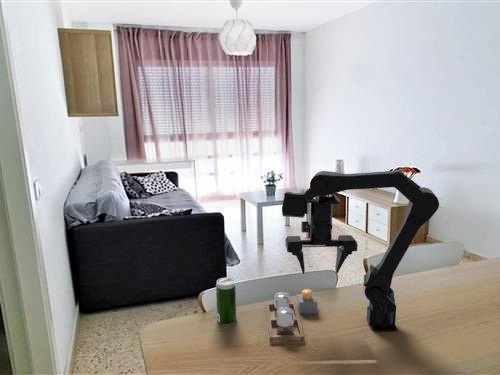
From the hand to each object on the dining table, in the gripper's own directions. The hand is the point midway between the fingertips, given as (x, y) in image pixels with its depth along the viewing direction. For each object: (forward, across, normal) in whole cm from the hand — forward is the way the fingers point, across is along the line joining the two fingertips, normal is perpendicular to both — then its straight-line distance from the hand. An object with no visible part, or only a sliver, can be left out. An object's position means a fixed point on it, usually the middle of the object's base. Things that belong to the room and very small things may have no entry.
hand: (319, 273), depth 107 cm
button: (+9, +3, -3) cm, 10 cm away
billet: (+12, +10, +9) cm, 18 cm away
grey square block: (+13, +3, -3) cm, 14 cm away
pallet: (+13, +10, +4) cm, 17 cm away
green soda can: (+13, +26, +2) cm, 29 cm away
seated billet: (+12, +10, 0) cm, 16 cm away
